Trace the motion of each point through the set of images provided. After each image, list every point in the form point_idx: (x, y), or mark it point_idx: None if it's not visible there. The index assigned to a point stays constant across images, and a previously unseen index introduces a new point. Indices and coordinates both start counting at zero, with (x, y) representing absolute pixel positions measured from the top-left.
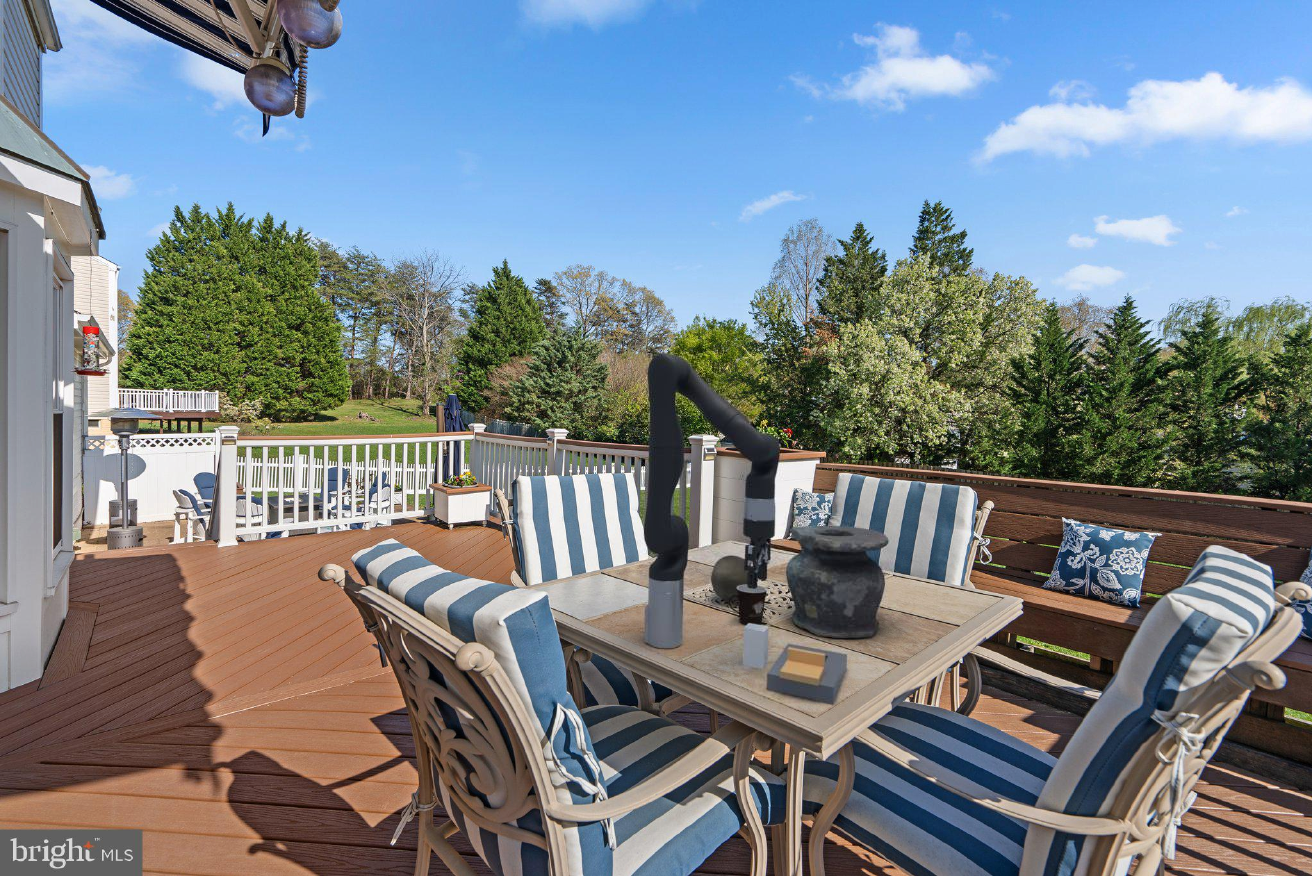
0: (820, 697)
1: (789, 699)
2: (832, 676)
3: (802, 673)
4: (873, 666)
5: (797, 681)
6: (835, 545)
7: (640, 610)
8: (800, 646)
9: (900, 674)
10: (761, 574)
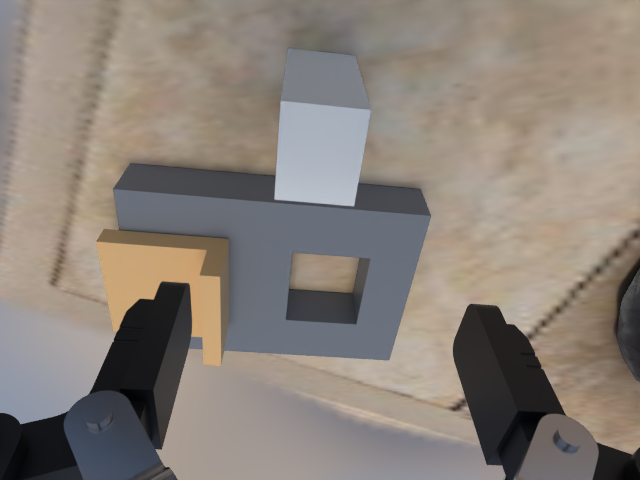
0: None
1: (109, 227)
2: None
3: (123, 297)
4: (422, 373)
5: None
6: None
7: None
8: (413, 253)
9: (391, 411)
10: (475, 356)
